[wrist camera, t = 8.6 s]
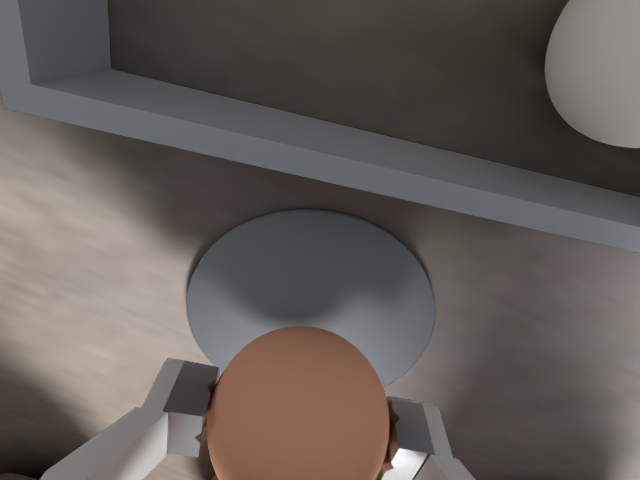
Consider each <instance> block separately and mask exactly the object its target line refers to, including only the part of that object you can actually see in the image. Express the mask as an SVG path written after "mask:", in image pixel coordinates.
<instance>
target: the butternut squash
mask: <svg viewBox="0 0 640 480" xmlns="http://www.w3.org/2000/svg"><path fill="white" fill-rule="evenodd" d="M0 480H38V479H35V478H31V477H27V476H24V475H20V474H14V473H0Z"/></svg>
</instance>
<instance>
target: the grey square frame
mask: <svg viewBox="0 0 640 480" xmlns="http://www.w3.org/2000/svg"><path fill="white" fill-rule="evenodd" d="M0 90H1V95H2V100H3V106H4V109H8V110H12V111H17V112H21V113H25V114H30V115H34V116H39V117H43V118H47V119H52V120H56V121H61V122H65V123H69V124H74V125H78V126H82V127H87V128H91V129H96V130H100V131H104V132H109V133H113V134H118V135H122V136H126V137H131V138H135V139H140V140H144V141H148V142H153V143H157V144H161V145H166V146H170V147H175V148H179V149H183V150H188V151H192V152H197V153H201V154H205V155H210V156H214V157H219V158H223V159H227V160H232V161H236V162H241V163H245V164H249V165H254V166H258V167H262V168H267V169H271V170H276V171H280V172H284V173H289V174H293V175H298V176H302V177H306V178H311V179H315V180H320V181H324V182H328V183H333V184H337V185H341V186H346V187H350V188H355V189H359V190H363V191H368V192H372V193H377V194H381V195H385V196H390V197H394V198H399V199H403V200H407V201H412V202H416V203H420V204H425V205H429V206H434V207H438V208H442V209H447V210H451V211H456V212H460V213H464V214H469V215H473V216H478V217H482V218H486V219H491V220H495V221H500V222H504V223H508V224H513V225H517V226H521V227H526V228H530V229H535V230H539V231H543V232H548V233H552V234H557V235H561V236H565V237H570V238H574V239H579V240H583V241H587V242H592V243H596V244H600V245H605V246H609V247H614V248H618V249H622V250H627V251H631V252H636V253H640V197H637V196H632V195H628V194H624V193H620V192H616V191H612V190H608V189H604V188H600V187H595V186H591V185H587V184H583V183H579V182H575V181H571V180H567V179H562V178H558V177H554V176H550V175H546V174H542V173H538V172H534V171H529V170H525V169H521V168H517V167H513V166H509V165H505V164H501V163H497V162H492V161H488V160H484V159H480V158H476V157H472V156H468V155H464V154H459V153H455V152H451V151H447V150H443V149H439V148H435V147H431V146H427V145H422V144H418V143H414V142H410V141H406V140H402V139H398V138H394V137H389V136H385V135H381V134H377V133H373V132H369V131H365V130H361V129H356V128H352V127H348V126H344V125H340V124H336V123H332V122H328V121H324V120H319V119H315V118H311V117H307V116H303V115H299V114H295V113H291V112H286V111H282V110H278V109H274V108H270V107H266V106H262V105H258V104H253V103H249V102H245V101H241V100H237V99H233V98H229V97H225V96H221V95H216V94H212V93H208V92H204V91H200V90H196V89H192V88H188V87H183V86H179V85H175V84H171V83H167V82H163V81H159V80H155V79H150V78H146V77H142V76H138V75H134V74H130V73H126V72H122V71H118V70H113V69H111V57H110V37H109V17H108V0H0Z"/></svg>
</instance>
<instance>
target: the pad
mask: <svg viewBox="0 0 640 480" xmlns="http://www.w3.org/2000/svg"><path fill="white" fill-rule="evenodd" d="M186 303H187V316H188V322H189V326H190V329H191V331H192V334H193V337H194V338H195V340H196V342H197V344H198V346H199V348H200V349H201V350H202V352H203V353H204V354H205V356H206V357H207V358H208V359H209V360H210V361H211V362H212V363H213V365H214V366H215V367H219V368H220V371H221V372H222V373H223V371H224V369H225V368H226V367H227V365H228V364H229V362H230V361H231V360H232V359H233V358H234V356H235V355H236V354H237V353H238V352H239V351H240V350H241V349H243V348H244V347H245V346H246V345H247V344H249V343H250V342H251V341H253V340H255V339H256V338H258V337H260V336H262V335H264V334H266V333H268V332H270V331H273V330H276V329H280V328H285V327H291V326H310V327H316V328H321V329H324V330H327V331H330V332H333V333H335V334H337V335H339V336H341V337H343V338H344V339H346V340H347V341H349V342H350V343H351V344H353V345H354V346H355V347H356V348H357V349H359V351H360V352H361V353H362V354H363V355H364V356H365V357H366V358H367V359H368V361H369V362H370V363H371V365H372V366H373V368H374V370H375V371H376V373H377V375H378V377H379V379H380V381H381V384H382V386H383V387H385V386H387V385H389V384H390V383H392V382H394V381H395V380H396V379H398V378H399V377H401V376H402V375H403V374H404V373H405V372H407V371H408V370H409V369H410V368H411V367H412V366H413V365H414V364H415V362H416V361H417V360H418V359H419V358H420V356H421V355H422V353H423V352H424V350H425V348H426V347H427V345H428V342H429V340H430V337H431V335H432V331H433V327H434V323H435V302H434V296H433V292H432V289H431V285H430V282H429V280H428V278H427V275H426V273H425V271H424V269H423V267H422V266H421V264H420V263H419V261H418V260H417V258H416V257H415V256H414V254H413V253H412V252H411V251H410V250H409V249H408V248H407V247H406V246H405V245H404V244H403V243H402V242H401V241H400V240H398V239H397V238H396V237H394V236H393V235H392V234H391V233H389V232H387V231H386V230H384V229H382V228H381V227H379V226H377V225H375V224H373V223H371V222H368V221H366V220H364V219H361V218H359V217H356V216H352V215H349V214H345V213H342V212H336V211H330V210H323V209H293V210H283V211H278V212H273V213H268V214H265V215H262V216H259V217H256V218H253V219H250V220H248V221H246V222H244V223H242V224H240V225H238V226H236V227H235V228H233V229H232V230H230V231H229V232H227V233H226V234H224V235H223V236H222V237H220V238H219V239H218V240H217V241H216V242H215V243H214V244H213V245H212V246H211V247H210V248H209V249H208V251H207V252H206V253H205V255H204V256H203V257H202V259H201V260H200V262H199V264H198V266H197V268H196V269H195V271H194V273H193V275H192V278H191V281H190V284H189V287H188V293H187V300H186Z"/></svg>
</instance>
